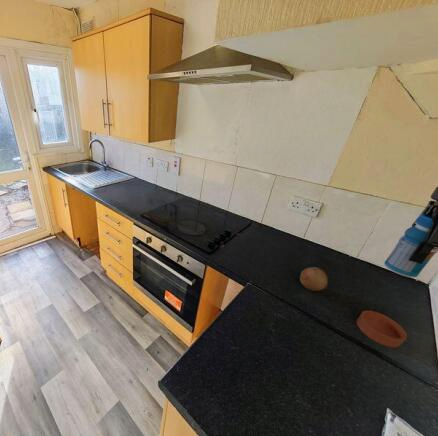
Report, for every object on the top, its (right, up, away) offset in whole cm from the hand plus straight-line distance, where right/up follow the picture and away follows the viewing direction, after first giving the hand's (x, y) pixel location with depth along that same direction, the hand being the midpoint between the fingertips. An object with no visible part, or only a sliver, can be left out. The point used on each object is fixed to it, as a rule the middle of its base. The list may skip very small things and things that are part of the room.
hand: (410, 255), depth 74 cm
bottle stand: (-4, -28, +6) cm, 29 cm away
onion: (-15, -18, +25) cm, 35 cm away
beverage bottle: (0, -6, +3) cm, 7 cm away
